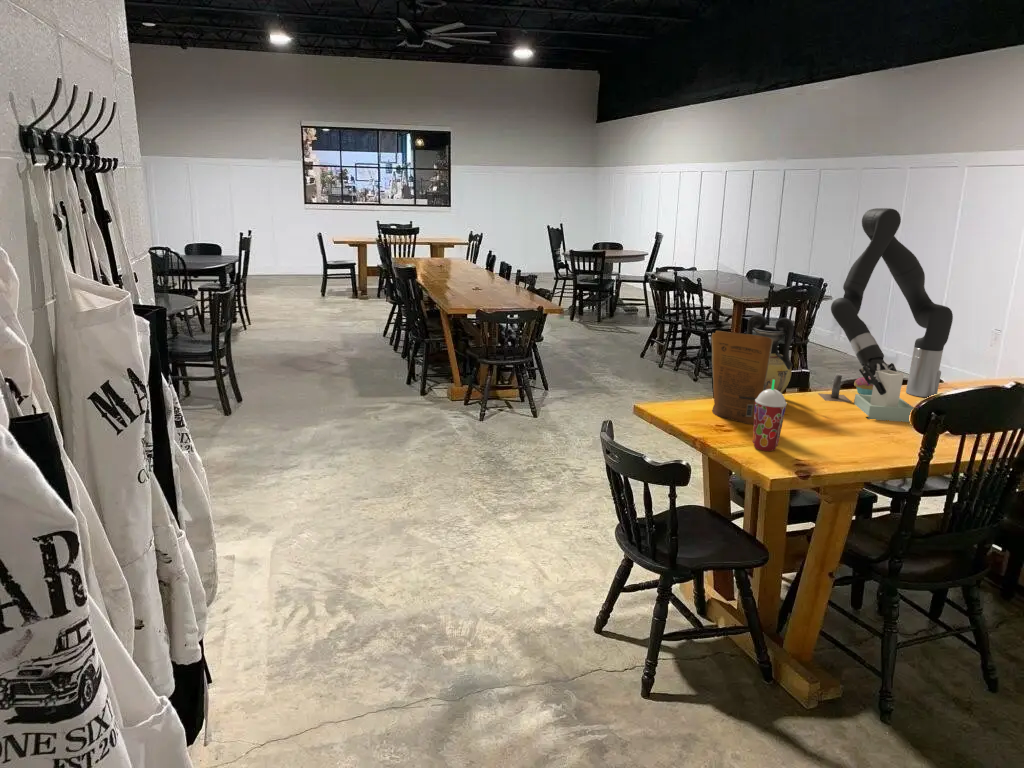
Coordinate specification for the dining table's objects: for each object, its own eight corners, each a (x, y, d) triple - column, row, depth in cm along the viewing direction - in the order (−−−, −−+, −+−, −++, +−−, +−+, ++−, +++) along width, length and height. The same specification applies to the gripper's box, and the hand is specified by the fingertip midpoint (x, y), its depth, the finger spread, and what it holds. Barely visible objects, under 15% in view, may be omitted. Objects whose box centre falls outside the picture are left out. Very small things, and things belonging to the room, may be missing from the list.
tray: (896, 409, 247) (898, 396, 246) (913, 422, 234) (915, 408, 233) (853, 406, 249) (855, 394, 247) (867, 419, 235) (870, 406, 234)
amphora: (729, 403, 248) (740, 316, 240) (739, 392, 262) (749, 309, 254) (784, 412, 240) (796, 322, 232) (791, 400, 254) (803, 315, 246)
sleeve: (882, 404, 244) (888, 369, 241) (897, 409, 239) (903, 373, 236) (869, 405, 242) (875, 370, 239) (884, 410, 237) (890, 375, 234)
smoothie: (785, 448, 206) (795, 380, 200) (771, 455, 200) (781, 385, 195) (758, 440, 211) (766, 374, 206) (743, 447, 206) (752, 378, 200)
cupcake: (858, 399, 258) (863, 366, 255) (848, 392, 266) (853, 360, 263) (882, 400, 258) (888, 367, 255) (872, 393, 266) (877, 361, 263)
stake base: (843, 398, 259) (847, 373, 256) (851, 405, 250) (856, 379, 248) (817, 396, 260) (820, 371, 257) (824, 403, 251) (828, 378, 249)
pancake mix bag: (757, 428, 222) (768, 338, 215) (701, 413, 235) (710, 328, 228) (767, 423, 227) (778, 336, 220) (712, 409, 240) (721, 326, 232)
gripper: (858, 344, 239) (883, 389, 232) (890, 342, 245) (914, 385, 237) (843, 356, 245) (866, 400, 238) (874, 354, 251) (898, 396, 244)
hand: (890, 392), depth 238 cm, fingers closed on sleeve, 5 cm apart
